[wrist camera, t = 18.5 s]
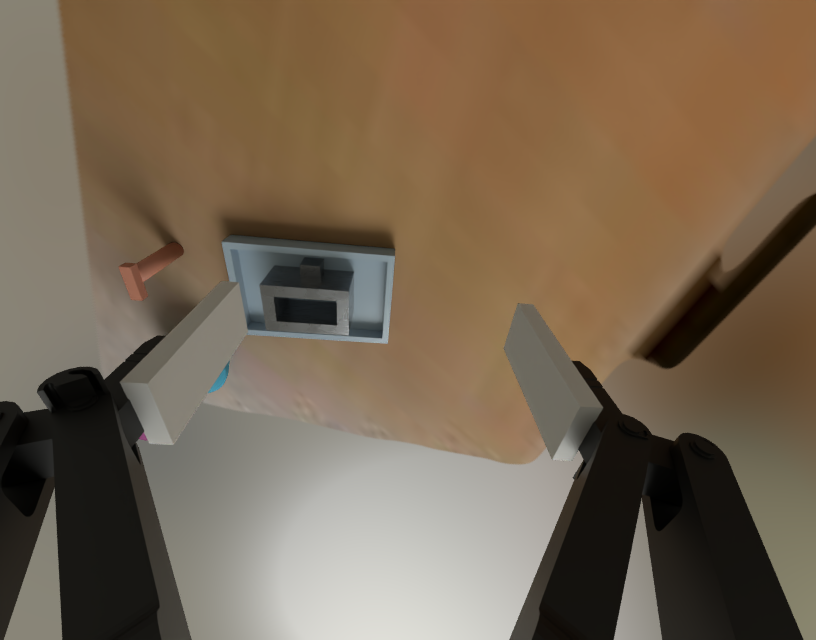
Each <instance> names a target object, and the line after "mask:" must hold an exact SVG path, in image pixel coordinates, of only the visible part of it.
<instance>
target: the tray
mask: <svg viewBox="0 0 816 640" xmlns="http://www.w3.org/2000/svg"><path fill="white" fill-rule="evenodd" d="M222 247H223V251H224V256H225V261H226V266H227V271H228V276H229V281H230V282H239V286H240V292H241V297H242V302H243V308H244V313H245V318H246V323H247V329H248V333H247V334H246V335H262V336H277V337H293V338H308V339H324V340H339V341H355V342H371V343H386V344H388V334H389V322H390V310H391V298H392V286H393V274H394V261H395V249H392V248H381V247H369V246H357V245H345V244H334V243H322V242H310V241H299V240H287V239H275V238H263V237H252V236H240V235H230V236H228V237H227V238H226V239H224V240H223V241H222ZM304 257H307V258H319V259H324V269H328V270H341V271H353V272H354V313H353V318H352V323H351V327H350V332H349V336H346V335H331V334H315V333H300V332H285V331H270V330H266V326H265V319H264V312H263V306H262V299H261V293H260V286H259V285H260V283H261V282H262V281H263V279H264V278H265V277H266V275H267V274H268V273H269V272H270V270H271V269H272V268H273V266H274V265H278V266H291V267H300V264H301V262H302V260H303V259H304ZM289 299H293V300H306V301H320V302H334V303H337V301H326V300H312V299H299V298H289Z"/></svg>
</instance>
